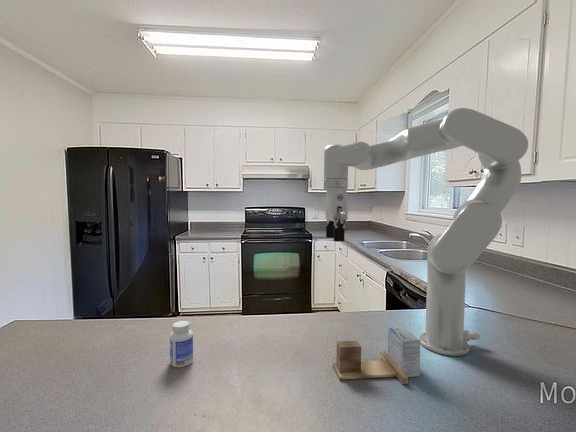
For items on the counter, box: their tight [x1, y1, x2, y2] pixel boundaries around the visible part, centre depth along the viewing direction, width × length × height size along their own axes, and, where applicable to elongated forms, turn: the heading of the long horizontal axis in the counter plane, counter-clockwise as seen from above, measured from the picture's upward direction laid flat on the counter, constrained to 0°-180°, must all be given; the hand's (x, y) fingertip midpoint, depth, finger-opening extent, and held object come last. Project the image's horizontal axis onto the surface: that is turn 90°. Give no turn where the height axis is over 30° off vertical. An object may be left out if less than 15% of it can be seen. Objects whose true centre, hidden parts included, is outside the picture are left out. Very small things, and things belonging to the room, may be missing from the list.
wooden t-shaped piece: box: [332, 340, 409, 385], centre depth 72 cm, size 15×12×7 cm
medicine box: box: [387, 326, 421, 378], centre depth 74 cm, size 8×4×9 cm, turn 6°
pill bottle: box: [169, 320, 194, 368], centre depth 75 cm, size 5×5×10 cm
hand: (334, 239), depth 97 cm, fingers open, 9 cm apart
